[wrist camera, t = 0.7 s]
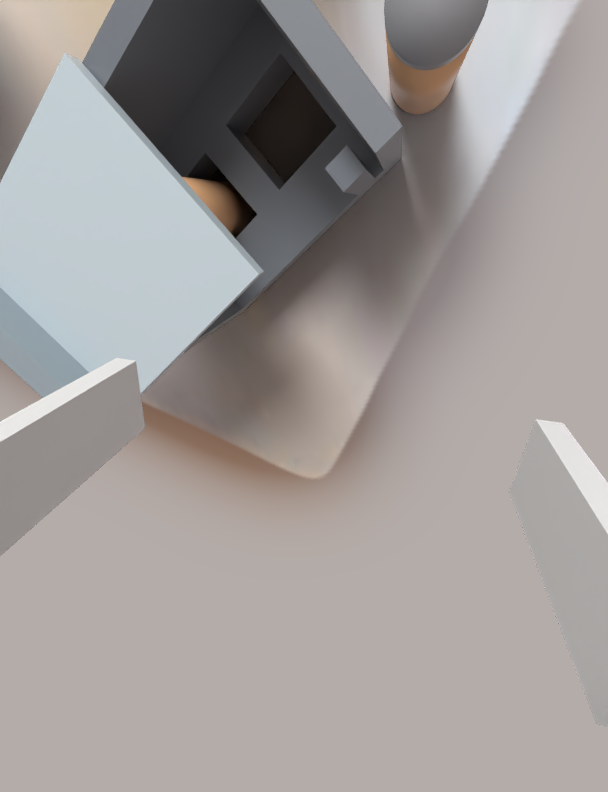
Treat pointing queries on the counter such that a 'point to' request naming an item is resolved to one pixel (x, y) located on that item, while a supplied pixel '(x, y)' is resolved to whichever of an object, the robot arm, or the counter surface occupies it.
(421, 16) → the pin
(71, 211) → the pale blue flat panel
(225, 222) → the pin
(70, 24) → the counter surface
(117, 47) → the housing
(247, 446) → the counter surface
